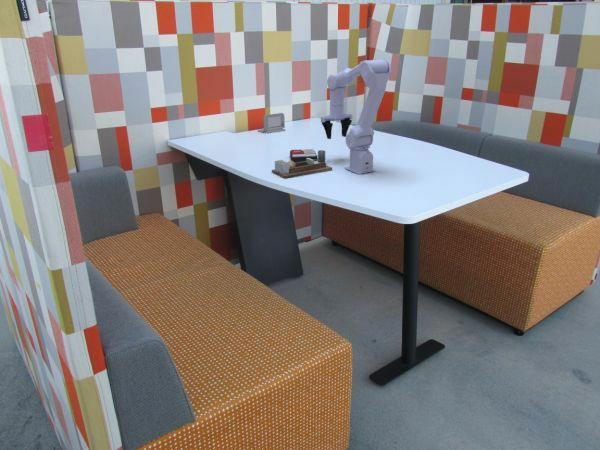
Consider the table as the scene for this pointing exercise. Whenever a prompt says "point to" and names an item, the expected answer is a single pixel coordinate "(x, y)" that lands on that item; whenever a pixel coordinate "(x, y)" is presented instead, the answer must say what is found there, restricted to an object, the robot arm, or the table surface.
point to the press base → (304, 169)
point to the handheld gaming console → (273, 123)
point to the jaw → (320, 158)
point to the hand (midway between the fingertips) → (336, 137)
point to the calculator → (302, 155)
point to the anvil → (282, 167)
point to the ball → (291, 164)
